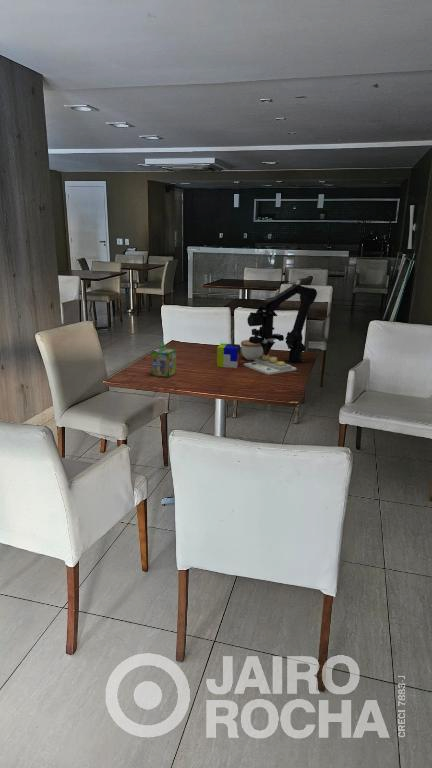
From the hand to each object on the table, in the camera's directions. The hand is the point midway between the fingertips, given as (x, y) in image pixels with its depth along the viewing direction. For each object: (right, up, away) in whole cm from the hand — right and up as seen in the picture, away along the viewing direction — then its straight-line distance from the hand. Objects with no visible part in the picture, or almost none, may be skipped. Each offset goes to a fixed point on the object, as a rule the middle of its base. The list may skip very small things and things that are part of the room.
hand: (265, 355), depth 255 cm
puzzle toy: (-19, -5, 0) cm, 20 cm away
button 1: (0, -2, +1) cm, 3 cm away
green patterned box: (-50, -10, -20) cm, 55 cm away
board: (+1, -7, -4) cm, 8 cm away
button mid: (+3, -4, -4) cm, 7 cm away
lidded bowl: (-6, -1, +14) cm, 15 cm away
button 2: (+6, -6, -9) cm, 13 cm away
